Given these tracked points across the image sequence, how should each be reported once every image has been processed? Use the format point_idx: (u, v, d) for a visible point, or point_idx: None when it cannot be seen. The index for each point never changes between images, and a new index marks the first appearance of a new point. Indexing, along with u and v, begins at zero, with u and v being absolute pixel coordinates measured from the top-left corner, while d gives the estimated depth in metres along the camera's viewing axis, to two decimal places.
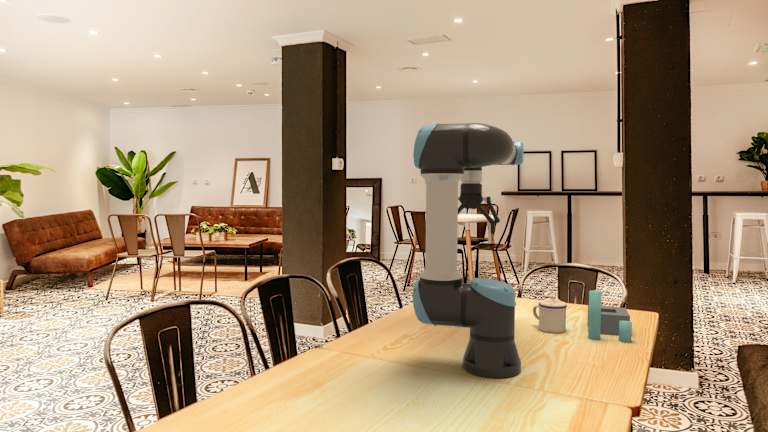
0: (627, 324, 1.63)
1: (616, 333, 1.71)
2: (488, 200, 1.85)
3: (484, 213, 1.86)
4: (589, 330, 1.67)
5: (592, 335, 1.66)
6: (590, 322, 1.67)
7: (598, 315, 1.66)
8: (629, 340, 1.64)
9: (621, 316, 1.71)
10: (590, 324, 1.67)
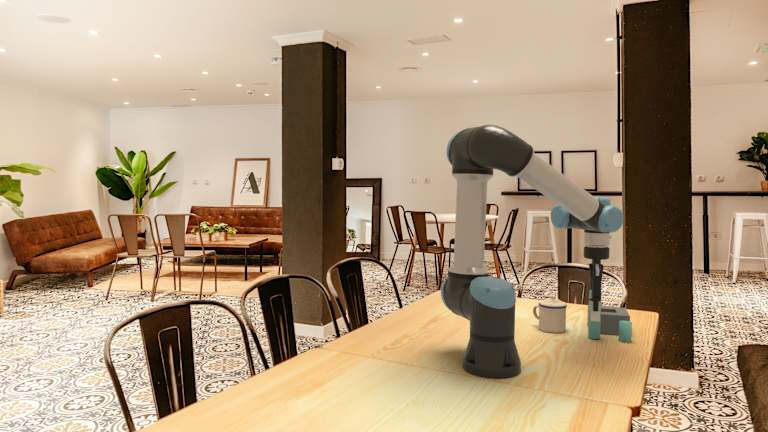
0: (627, 324, 1.63)
1: (616, 333, 1.71)
2: (593, 273, 1.62)
3: (592, 284, 1.65)
4: (589, 330, 1.67)
5: (592, 334, 1.66)
6: (590, 322, 1.67)
7: None
8: (629, 340, 1.64)
9: (621, 316, 1.71)
10: (590, 324, 1.67)
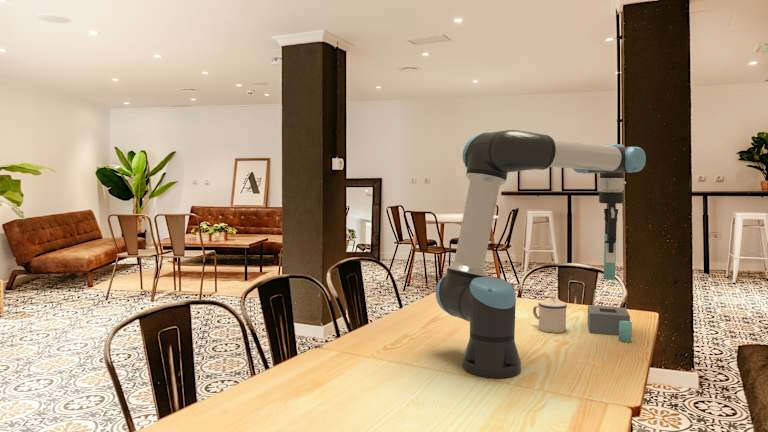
0: (627, 324, 1.63)
1: (616, 333, 1.71)
2: (608, 215, 1.70)
3: (607, 228, 1.74)
4: (604, 271, 1.76)
5: (607, 275, 1.75)
6: (605, 263, 1.76)
7: None
8: (629, 340, 1.64)
9: (621, 316, 1.71)
10: (605, 265, 1.76)
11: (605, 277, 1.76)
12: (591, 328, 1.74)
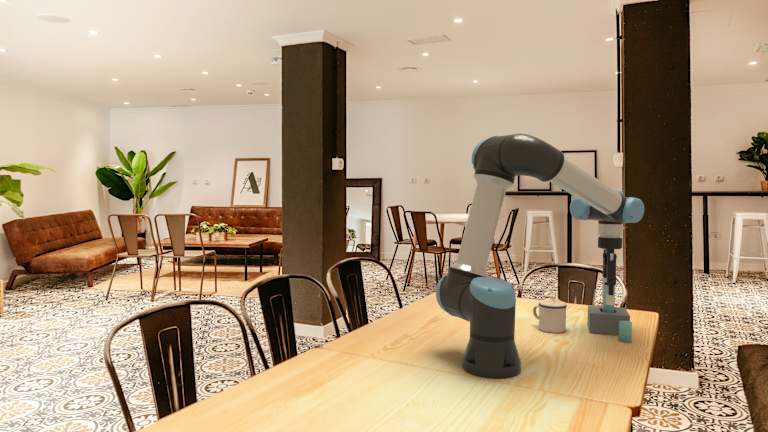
0: (627, 324, 1.63)
1: (616, 333, 1.71)
2: (607, 257, 1.71)
3: (606, 271, 1.73)
4: None
5: None
6: None
7: (612, 308, 1.75)
8: (629, 340, 1.64)
9: (621, 316, 1.71)
10: None
11: None
12: (591, 328, 1.74)
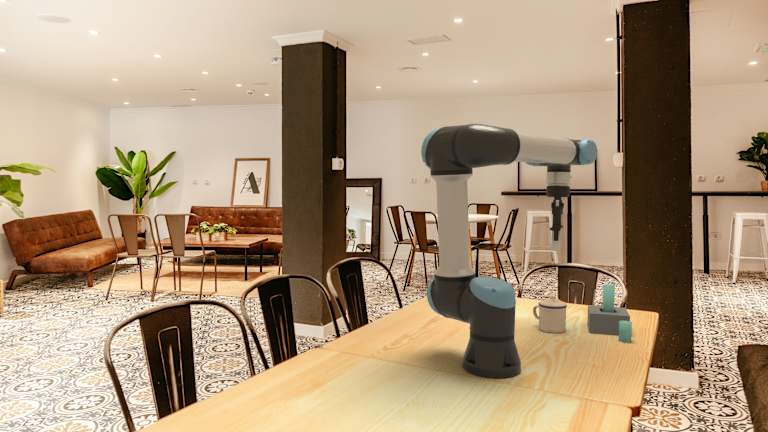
0: (627, 324, 1.63)
1: (616, 333, 1.71)
2: None
3: None
4: None
5: None
6: None
7: (611, 308, 1.76)
8: (629, 340, 1.64)
9: (621, 316, 1.71)
10: None
11: None
12: (591, 328, 1.74)
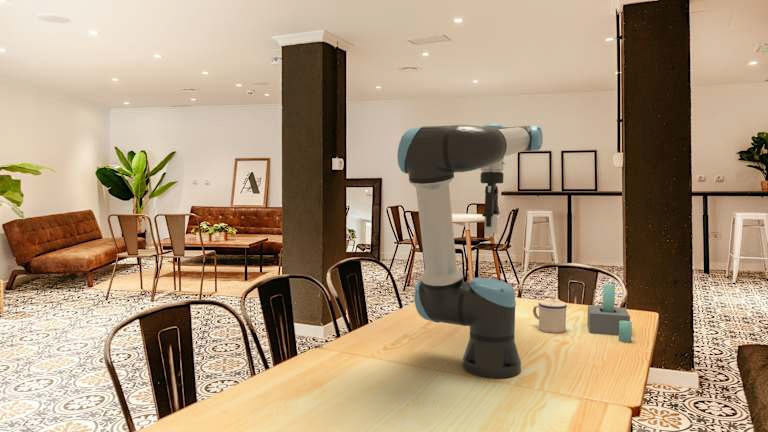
0: (627, 324, 1.63)
1: (616, 333, 1.71)
2: (485, 190, 1.71)
3: None
4: None
5: None
6: None
7: (612, 308, 1.76)
8: (629, 340, 1.64)
9: (621, 316, 1.71)
10: None
11: None
12: (591, 328, 1.74)
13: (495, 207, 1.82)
